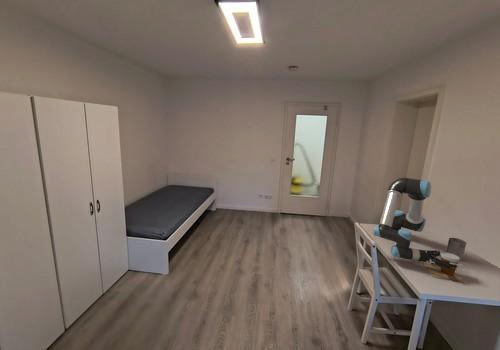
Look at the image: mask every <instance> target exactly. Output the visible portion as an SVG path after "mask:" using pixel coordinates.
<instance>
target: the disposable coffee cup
mask: <svg viewBox="0 0 500 350" xmlns="http://www.w3.org/2000/svg"><path fill="white" fill-rule="evenodd" d="M441 253H442V254H441V257H440V258H441V259H440V260H443V261H445V262H448V263H456V264H460V262H461V261H460V258H459V257H458V256H456V255H454V254H451V253H446V251H445V252H441ZM456 270H457V268H453V267H451V269H448V268H445V267H442V266H441V272H443V273H444V274H447V275H454V272H456Z"/></svg>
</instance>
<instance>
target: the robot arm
mask: <svg viewBox="0 0 500 350" xmlns="http://www.w3.org/2000/svg"><path fill="white" fill-rule="evenodd" d="M431 189H432V185H431V182H430V181H428V180H425V179H417V178H410V177H403V176H402V177H399V178H397V179H395V180H393V181H392V182H391V183H390V184H389V185H388V188H387V191H386V193H387V196H386V200H385V203H384V206H383V211H382V214H381V217H380V221H379V224H378V225H375V226H374V228H373V233H372V234H373V236H375V237H379V238H380V239H385V240H388V241H390V242H394V243H396V244H395V245H391V247H390V254H391V255H392V256H393V257H395V258H399V259H405V260H410V261H418V262H430V263H431V264H435V265H438V266H442V267H445V268H448V269H451V267H453V268H456V269H460V270H462V269H464V268H463V267H464V264H461V263H458V264H456V263H448V262H445V261H443V260H441V259H439V258H441V254H442V253H443V252H441V251H440V250H434V249H433V250H426V249H417V248H412V247H410V246H411V242H412V235H413V234H412V232H411V231H413V232H418V233H421V232H423V230H424V227H425V224H426V218H424V216H423V209H424V208H423V207H424V203H425V200H426V199H427V198H429V197H430V195H431ZM403 194H406V195H407V196H408V198H409V204H408V213H405V212H404V211H403V210H400V209H399V210H398V209H397V207H398V204H399V200H400V197H402V196H403ZM438 257H439V258H438Z"/></svg>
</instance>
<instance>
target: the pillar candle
mask: <svg viewBox="0 0 500 350" xmlns="http://www.w3.org/2000/svg"><path fill="white" fill-rule="evenodd" d="M466 246H467V242H466V241H465V240H463V239H460V238H456V237H449V238H448V242H447V246H446V249H445V252H446V253H451V254H454V255H456V256H458V257H459V258H460V262H462V261H463V258H464V255H465V250H466Z"/></svg>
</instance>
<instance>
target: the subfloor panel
mask: <svg viewBox="0 0 500 350" xmlns="http://www.w3.org/2000/svg"><path fill="white" fill-rule="evenodd" d="M422 264H423V266H424V267H425V268H426V269H427V271H428V272H429V274H430V275H431V276H432V277H433V278H437V279H441V280H447V281H451V282H458V283H463V284H465V280H463V279H462V277H460V275H459V274H457V272H456V271H455V272H454V275H447V274H444V273H443V272H441V266H438V265H435V264H431V262H428V261H425V262H422Z"/></svg>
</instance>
